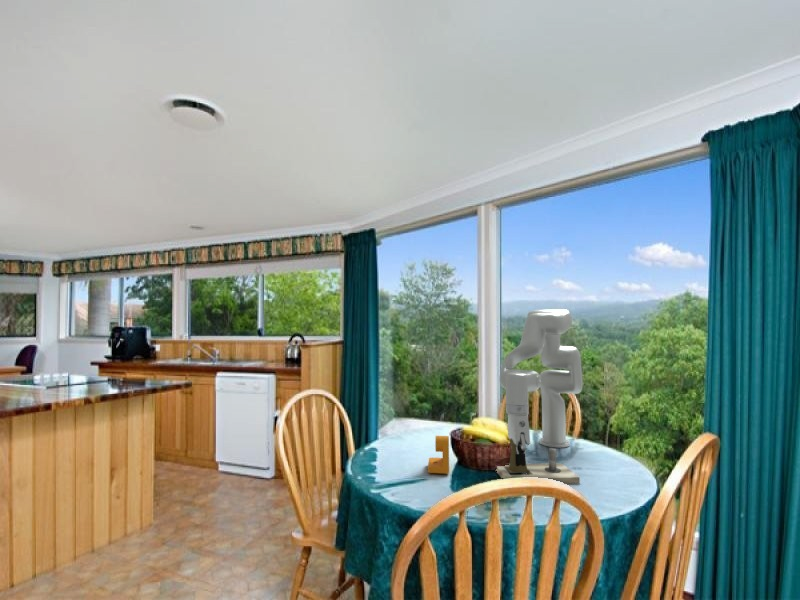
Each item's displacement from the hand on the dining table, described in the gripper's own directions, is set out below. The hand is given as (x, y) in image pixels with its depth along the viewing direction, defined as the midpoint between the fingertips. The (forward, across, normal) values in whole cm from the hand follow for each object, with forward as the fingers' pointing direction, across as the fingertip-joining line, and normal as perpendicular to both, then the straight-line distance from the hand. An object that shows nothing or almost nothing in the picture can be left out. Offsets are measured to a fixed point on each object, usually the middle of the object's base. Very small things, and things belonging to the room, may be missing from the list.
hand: (518, 462), depth 146 cm
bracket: (+5, +8, +26) cm, 28 cm away
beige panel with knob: (+5, 0, -6) cm, 7 cm away
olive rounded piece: (+2, 0, 0) cm, 2 cm away
